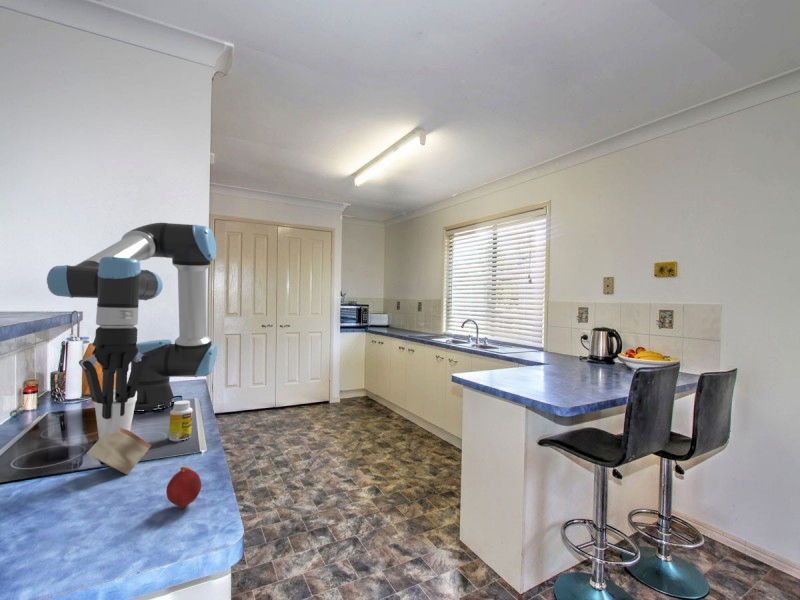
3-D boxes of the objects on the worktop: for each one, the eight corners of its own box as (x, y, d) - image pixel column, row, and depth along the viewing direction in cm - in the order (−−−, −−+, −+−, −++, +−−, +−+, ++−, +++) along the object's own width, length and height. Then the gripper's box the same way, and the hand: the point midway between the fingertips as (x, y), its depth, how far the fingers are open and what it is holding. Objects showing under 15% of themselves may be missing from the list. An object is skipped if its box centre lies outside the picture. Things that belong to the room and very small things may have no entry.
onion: (179, 497, 77) (181, 457, 77) (206, 500, 76) (208, 460, 76) (158, 513, 71) (160, 470, 71) (187, 517, 70) (189, 473, 70)
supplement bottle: (181, 443, 104) (183, 405, 104) (163, 440, 105) (165, 403, 105) (196, 436, 109) (197, 400, 109) (179, 434, 110) (180, 398, 110)
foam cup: (111, 449, 98) (113, 399, 98) (82, 445, 100) (84, 395, 100) (143, 437, 107) (145, 390, 107) (116, 433, 109) (118, 387, 109)
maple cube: (111, 467, 88) (135, 439, 93) (127, 474, 85) (151, 445, 89) (86, 453, 84) (112, 424, 88) (102, 460, 81) (129, 430, 85)
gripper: (89, 328, 78) (84, 444, 78) (157, 326, 89) (152, 427, 89) (73, 326, 82) (68, 436, 82) (140, 324, 93) (136, 421, 93)
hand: (112, 431), depth 85 cm, fingers closed
